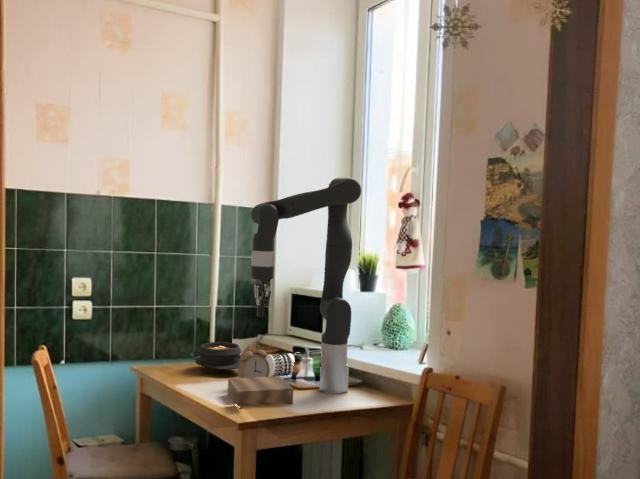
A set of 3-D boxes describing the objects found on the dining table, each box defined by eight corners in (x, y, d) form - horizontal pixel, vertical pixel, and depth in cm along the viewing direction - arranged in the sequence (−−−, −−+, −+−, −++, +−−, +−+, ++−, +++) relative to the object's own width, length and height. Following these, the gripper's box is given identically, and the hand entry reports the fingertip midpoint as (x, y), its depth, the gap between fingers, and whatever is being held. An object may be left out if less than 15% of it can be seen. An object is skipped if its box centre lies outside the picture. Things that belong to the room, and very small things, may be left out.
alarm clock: (242, 390, 235) (243, 347, 234) (235, 386, 239) (236, 344, 238) (270, 385, 242) (271, 344, 241) (262, 382, 246) (264, 341, 245)
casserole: (257, 370, 264) (257, 348, 263) (215, 376, 252) (216, 354, 251) (222, 357, 283) (223, 337, 282) (182, 363, 271) (183, 342, 270)
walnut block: (279, 393, 234) (280, 376, 234) (292, 407, 219) (293, 388, 219) (227, 396, 228) (228, 378, 228) (237, 410, 213) (238, 391, 213)
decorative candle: (263, 357, 259) (322, 352, 270) (267, 381, 255) (327, 375, 267) (271, 349, 252) (331, 345, 263) (275, 374, 248) (336, 368, 259)
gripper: (279, 266, 220) (277, 319, 220) (267, 262, 232) (265, 313, 233) (257, 266, 217) (255, 320, 218) (246, 262, 229) (244, 313, 230)
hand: (260, 316), depth 225 cm, fingers closed
